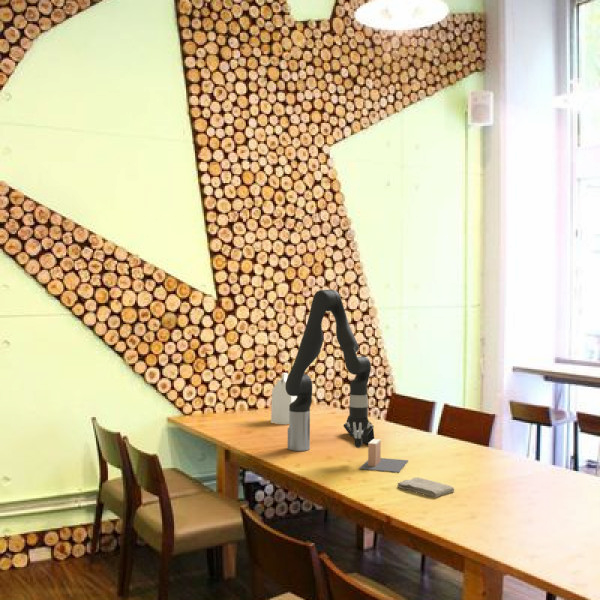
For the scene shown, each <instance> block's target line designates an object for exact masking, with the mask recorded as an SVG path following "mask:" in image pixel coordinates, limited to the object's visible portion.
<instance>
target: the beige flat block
mask: <svg viewBox="0 0 600 600" xmlns="http://www.w3.org/2000/svg"><path fill="white" fill-rule="evenodd" d="M381 440H382V439H379V438H377V439H376V438H374V439H373V440H371V441H370V442H369V443H367V444H368V445H367V449H368V450H367V457H368V458H367V460H368V466H376V465H377V464H378V463H379V462H380V458H381V446H382V445H381Z"/></svg>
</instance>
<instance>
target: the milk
mask: <svg viewBox="0 0 600 600" xmlns="http://www.w3.org/2000/svg"><path fill="white" fill-rule="evenodd" d="M288 375H289V373H288V372H284V373H281V378H280V379H278V380H277V382H276V384H275V385H274V386H273V388H272V391H271V411H270V412H271V413H270V414H271V416H270V424H271V423H275V424H274V425H287V424H289V405H290V404H291V403H292V402H294V401H295V400H296V398H297V396H290V395H288V394H287V392H286V388H285V385H286V380H287V377H288Z"/></svg>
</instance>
